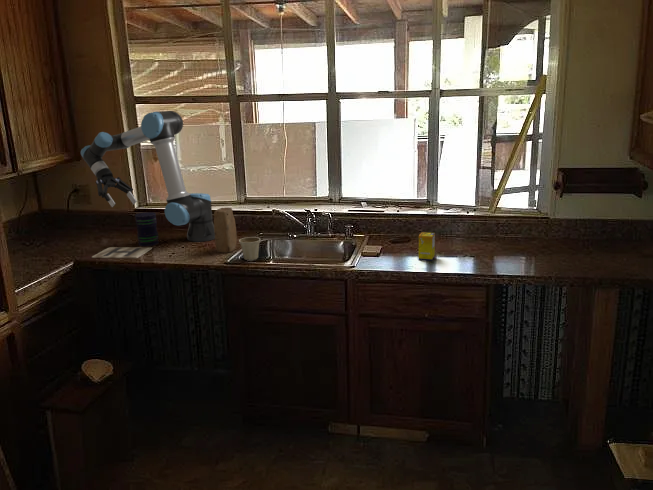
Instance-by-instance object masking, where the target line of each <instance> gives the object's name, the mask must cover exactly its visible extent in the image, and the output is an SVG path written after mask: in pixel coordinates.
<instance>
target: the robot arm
mask: <svg viewBox="0 0 653 490" xmlns="http://www.w3.org/2000/svg"><path fill="white" fill-rule="evenodd" d="M183 120H184V119H183V117H182V116H181V115H180V114H179V113H178V112H175V111H173V110H162V111H152V112H148V113H146V114H145V115H143V117H142V120H141V122H140V123H141V124H140V126H138V127H134V128H133V129H129V130H127V131H124V132H120V133H117V134H114V135H113V134H112V135H111V134H110V133H108V132H105V131H101V132H98V134H97V135H96V136H95V138H94V139H93V140H92V143H91V144H90V145H85V146H84V147H83V148H81V150H80V155H81V157H82V159H83V161H84V162H85V163H86V164H87V167H89V168H90V170H91V172H92V173H93V174H94V175H95V178H96V181H95V184H96V188H97V194H98V196H99V197H101V198H102V199H103V198H104V199H105V201H106V202H107V203H109V205H110V208H114V206H116V202H115V201H114V199H113V198H112V196H111V195H110V193H108V188H114V189H118V190H119V191H121V192H123V193H124V194H126V196H127V198H128V199H129V200H130V202H131V203H132V205H135V204H136V203H137V198H135V195H134V194H133V193H132V192H133V190H134V189H133V187H131V186H130V185H128V184H127V183H126V182H125V181H123V180H122V179H121V177H119V176H117V178H115V177H114V175H113V172H112V171H111V169H110V168H109V166H108V165H107V164H106V162H105V160H104V159H103V157H104V156H105V154H106V152H111V151H117V150H118V151H119V150H126V149H128V148H130V147H132V146H134V145H135V146H136V145H138V144H140V143H143V142H144V143H145V142H147V141H150V144H152V145H153V146H154V147H155V151H156V156H157V158H158V162H159V165H160V169H161V173H162V177H163V180H164V185H165V187H166V188H165V189H166V192H167V194H168V195H167V197H166V198H165V199H166V206H165V208H164V216H165V218H166V220H167V221H168V222H170V224H172V225H174V226H184V225H187V224H188V229H187V233H186V238H187V239H186V240H187V241H189V242H209V241H212V240H215V232H214V219H213V210H212V200H211V195H210V194H209V193H202V192H201V193H197V192H196V193H195V192H194V193H189V192H188V191H187V189H186V186H185V185H186V184H185V182H184V178H183V174H182V170H181V168H180V164H179V160H178V156H177V152H176V148H175V146H174V145H175V144H174V141H175V139H176V136H175V135H177V134H179V133H180V132H181V131H182V130H183V127H184V121H183Z"/></svg>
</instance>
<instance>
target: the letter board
mask: <svg viewBox="0 0 653 490" xmlns="http://www.w3.org/2000/svg"><path fill="white" fill-rule="evenodd" d="M152 249H153V247H145V246H140V247H138V246H137V247H133V246H132V247H128V246H127V247H126V246H125V247H121V246H118V247H117V246H116V247H114V246H111V247H107V248H104V249H103V250H102V251H101V250H100V251H99V252H98V253H96V254H94V255H92V256H91V258H92V259H97V258H98V259H138V258H140V257H142V256H143V255H144V254H146V253H147V252H149V251H150V250H152Z"/></svg>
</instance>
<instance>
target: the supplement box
mask: <svg viewBox="0 0 653 490" xmlns="http://www.w3.org/2000/svg"><path fill="white" fill-rule="evenodd" d="M435 239H436V233H435V232H424V231H423V232H420V233H419V235H418V255H417V257H418V261H424V262H425V261H426V262H433V260H434V259H435V253H436V252H435V251H436V249H435V248H436V246H435V245H436V244H435V242H436V241H435Z"/></svg>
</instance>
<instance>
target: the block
mask: <svg viewBox="0 0 653 490" xmlns="http://www.w3.org/2000/svg"><path fill="white" fill-rule="evenodd" d="M213 215H214V216H213V224H214V232H215V239H214V241H215V242H214V243H215V248H216V251H217V252H219V253H223V254H224V253H230V252H233V251H235V249H236V247H237V243H238V242H237V241H238V240H237V239H238V237H237V226H236V219H235V216H234V213H233V208H232V207H220V208H217V209H216V210H214V212H213Z"/></svg>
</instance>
